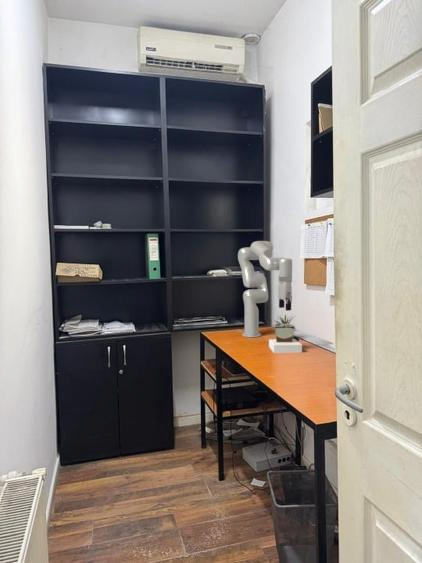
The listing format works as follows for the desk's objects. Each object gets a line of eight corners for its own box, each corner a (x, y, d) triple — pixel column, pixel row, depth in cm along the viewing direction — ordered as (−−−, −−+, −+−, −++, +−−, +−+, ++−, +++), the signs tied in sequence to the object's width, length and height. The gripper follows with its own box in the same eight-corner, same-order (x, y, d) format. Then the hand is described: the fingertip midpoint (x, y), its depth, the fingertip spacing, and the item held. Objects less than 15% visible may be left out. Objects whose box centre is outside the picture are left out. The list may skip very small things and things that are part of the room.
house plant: (290, 335, 259) (290, 311, 257) (301, 340, 246) (301, 315, 244) (271, 337, 254) (271, 313, 253) (281, 342, 241) (281, 316, 240)
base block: (268, 347, 230) (269, 339, 230) (295, 347, 231) (295, 339, 231) (273, 353, 217) (274, 345, 216) (301, 353, 217) (301, 344, 217)
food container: (293, 339, 228) (293, 323, 227) (295, 342, 222) (295, 325, 221) (272, 339, 229) (272, 323, 228) (273, 342, 223) (274, 325, 222)
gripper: (273, 278, 228) (273, 306, 230) (285, 281, 212) (284, 311, 213) (285, 278, 230) (285, 306, 232) (297, 281, 213) (297, 311, 215)
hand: (284, 308), depth 222 cm, fingers open, 9 cm apart
